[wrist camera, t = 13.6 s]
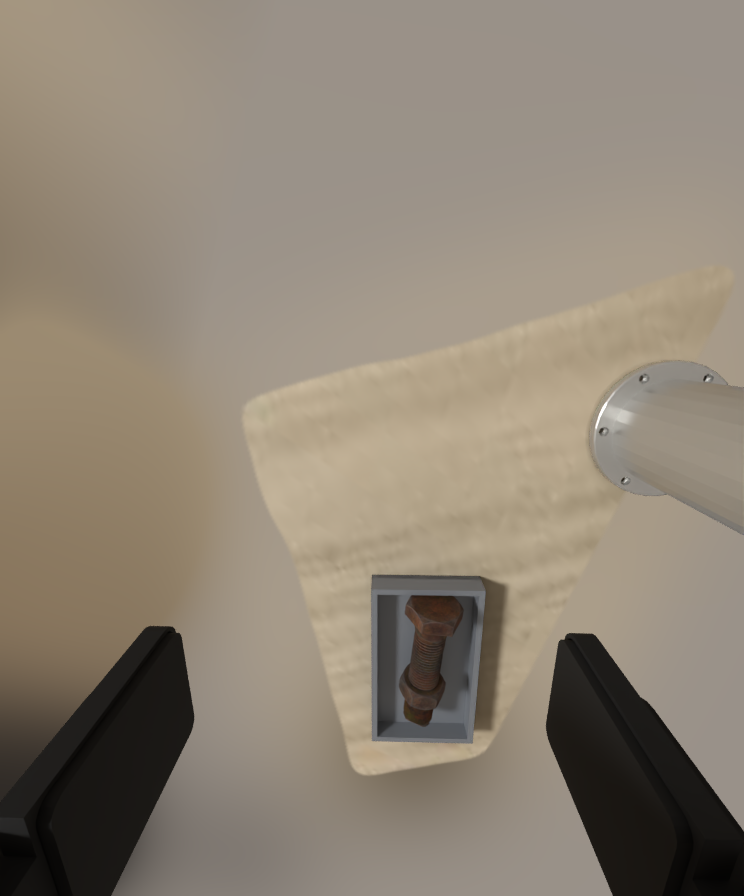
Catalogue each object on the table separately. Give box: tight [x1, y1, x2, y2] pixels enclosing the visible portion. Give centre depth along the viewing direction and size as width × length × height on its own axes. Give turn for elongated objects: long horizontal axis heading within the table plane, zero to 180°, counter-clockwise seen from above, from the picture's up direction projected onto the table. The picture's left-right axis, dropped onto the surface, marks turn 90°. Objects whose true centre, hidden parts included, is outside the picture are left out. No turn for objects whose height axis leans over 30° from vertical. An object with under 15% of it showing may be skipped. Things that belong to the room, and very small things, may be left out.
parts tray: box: [371, 575, 486, 743], centre depth 42 cm, size 11×20×2 cm, turn 0°
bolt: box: [399, 595, 464, 727], centre depth 40 cm, size 6×5×15 cm
